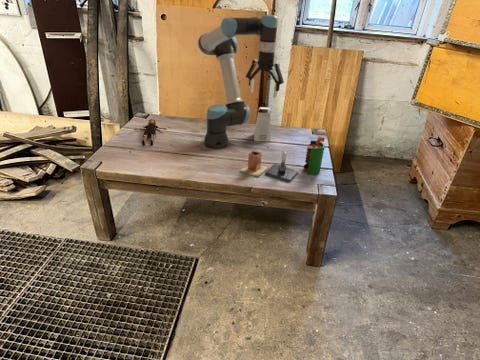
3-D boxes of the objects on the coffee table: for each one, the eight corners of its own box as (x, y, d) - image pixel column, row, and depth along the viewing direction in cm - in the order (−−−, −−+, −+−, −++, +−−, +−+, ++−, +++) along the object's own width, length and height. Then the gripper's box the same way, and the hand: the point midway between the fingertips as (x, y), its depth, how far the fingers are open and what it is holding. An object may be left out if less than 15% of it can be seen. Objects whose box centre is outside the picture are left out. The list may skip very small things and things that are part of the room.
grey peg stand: (265, 174, 169) (267, 153, 162) (274, 166, 177) (276, 145, 171) (289, 182, 163) (293, 160, 157) (297, 173, 171) (301, 152, 165)
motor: (301, 165, 179) (306, 132, 168) (316, 165, 180) (323, 132, 169) (305, 175, 170) (312, 140, 160) (322, 175, 171) (329, 140, 161)
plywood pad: (240, 171, 170) (240, 169, 170) (249, 163, 178) (250, 161, 178) (258, 177, 166) (258, 175, 165) (267, 168, 174) (267, 167, 173)
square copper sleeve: (247, 169, 171) (248, 153, 166) (252, 165, 174) (253, 150, 170) (255, 171, 169) (257, 156, 164) (260, 167, 172) (261, 152, 168)
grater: (270, 141, 205) (273, 111, 195) (254, 140, 205) (256, 110, 195) (269, 135, 214) (272, 106, 204) (253, 134, 214) (256, 105, 204)
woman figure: (129, 140, 187) (136, 116, 216) (130, 149, 190) (137, 124, 219) (164, 139, 190) (167, 116, 219) (165, 148, 193) (167, 124, 222)
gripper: (240, 48, 157) (238, 91, 168) (287, 55, 147) (282, 101, 158) (248, 46, 163) (245, 88, 174) (293, 53, 152) (288, 97, 163)
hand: (263, 94), depth 166 cm, fingers open, 13 cm apart
